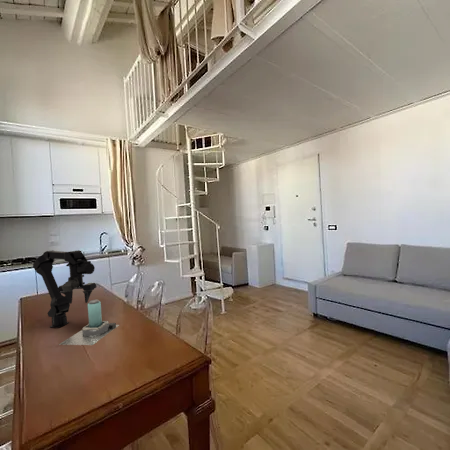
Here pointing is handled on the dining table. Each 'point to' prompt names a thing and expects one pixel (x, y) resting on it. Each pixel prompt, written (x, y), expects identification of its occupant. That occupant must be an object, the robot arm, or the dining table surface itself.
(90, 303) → the bottle
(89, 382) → the dining table surface
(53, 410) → the dining table surface
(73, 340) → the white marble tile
